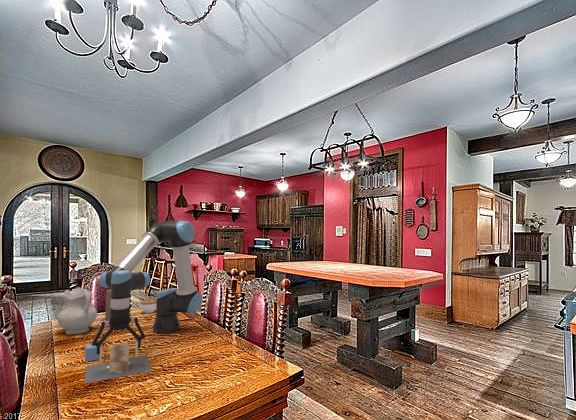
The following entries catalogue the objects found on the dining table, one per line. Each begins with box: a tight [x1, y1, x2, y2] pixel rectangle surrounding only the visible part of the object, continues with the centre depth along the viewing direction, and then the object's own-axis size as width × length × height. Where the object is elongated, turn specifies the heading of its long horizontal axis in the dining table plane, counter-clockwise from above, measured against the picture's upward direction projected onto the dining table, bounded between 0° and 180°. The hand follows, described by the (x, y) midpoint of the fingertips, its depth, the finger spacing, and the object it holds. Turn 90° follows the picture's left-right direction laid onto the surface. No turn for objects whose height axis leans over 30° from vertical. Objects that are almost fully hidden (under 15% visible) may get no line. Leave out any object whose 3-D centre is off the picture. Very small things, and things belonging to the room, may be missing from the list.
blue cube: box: [84, 343, 100, 362], centre depth 151 cm, size 6×6×6 cm
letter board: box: [83, 355, 153, 384], centre depth 140 cm, size 24×18×1 cm
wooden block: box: [104, 288, 112, 321], centre depth 214 cm, size 10×10×20 cm
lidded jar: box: [140, 298, 156, 314], centre depth 234 cm, size 11×11×9 cm
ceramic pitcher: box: [56, 286, 98, 335], centre depth 191 cm, size 22×20×25 cm
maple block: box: [108, 342, 130, 373], centre depth 140 cm, size 7×7×9 cm
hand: (118, 358), depth 140 cm, fingers open, 13 cm apart
